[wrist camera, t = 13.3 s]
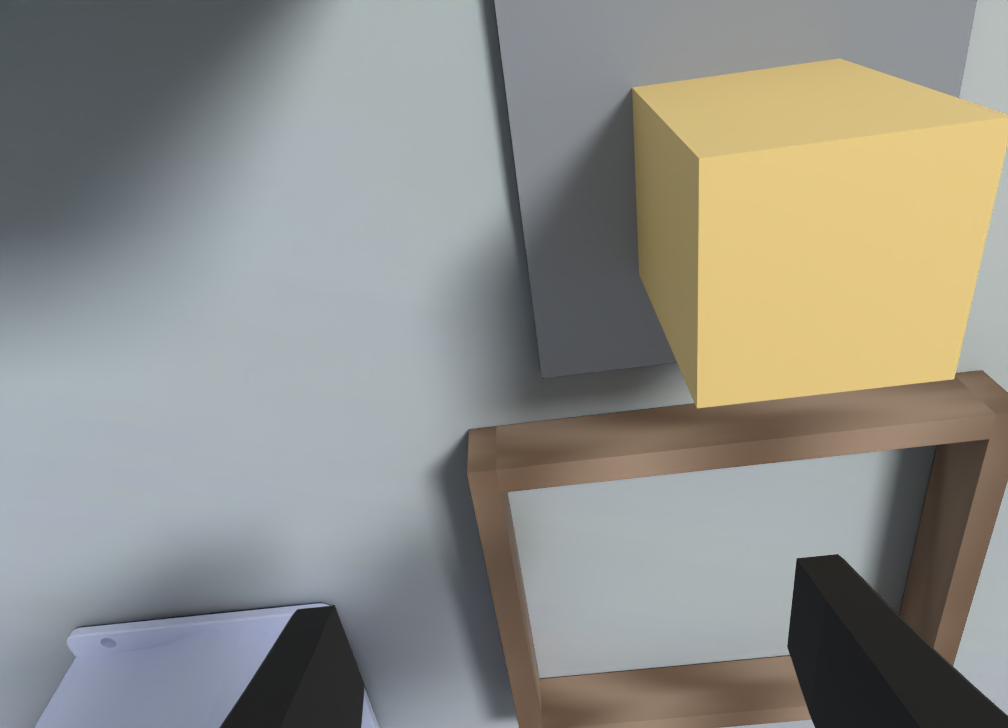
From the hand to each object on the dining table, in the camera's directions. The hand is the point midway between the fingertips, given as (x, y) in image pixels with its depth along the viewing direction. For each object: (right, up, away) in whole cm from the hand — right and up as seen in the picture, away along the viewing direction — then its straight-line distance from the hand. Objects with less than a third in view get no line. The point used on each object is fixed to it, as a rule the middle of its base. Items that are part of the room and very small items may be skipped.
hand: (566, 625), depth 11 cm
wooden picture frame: (+6, -2, +12) cm, 14 cm away
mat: (+4, +9, +6) cm, 11 cm away
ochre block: (+4, +9, +5) cm, 11 cm away
